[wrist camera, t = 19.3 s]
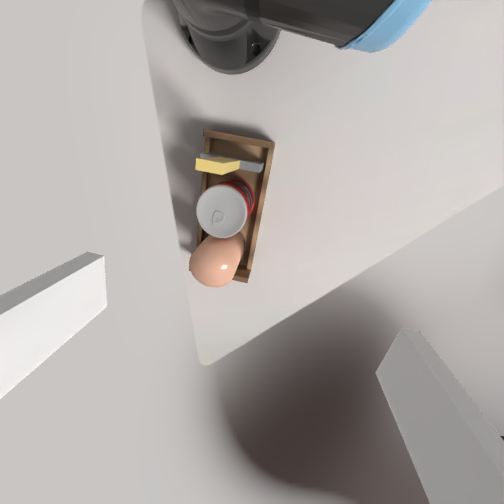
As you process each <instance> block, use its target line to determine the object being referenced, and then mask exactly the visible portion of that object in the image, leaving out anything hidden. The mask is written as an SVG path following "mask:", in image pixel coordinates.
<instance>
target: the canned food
mask: <svg viewBox="0 0 504 504" xmlns="http://www.w3.org/2000/svg"><path fill="white" fill-rule="evenodd" d="M254 203H255V196H254V192H253V190H252V188H251V187H250V185H249V184H248V183H246V182H245V181H243V180H241V179H237V178H231V179H227V180H225V181H222V182H220V183H218V184H216V185H213V186H212V187H210V188H208V189H207V190H205V191H204V192H203V193H202V195H201V196H200V197H199V199H198V202H197V206H196V216H197V219H198V222H199V224H200V226H201V227H202V228H203V230H204V231H206V232H207V233H208V234H210V235H211V236H214V237H218V238H227V237H231V236H233V235H235V234H236V233H238V232H239V231H240V230H241V229H242V227H243V226H244V224H245V223H246V221H247V219H248V217H249V215H250V214H251V212H252V210H253V207H254Z"/></svg>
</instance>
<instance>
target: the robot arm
mask: <svg viewBox="0 0 504 504" xmlns="http://www.w3.org/2000/svg"><path fill="white" fill-rule="evenodd" d="M171 1H172V2H173V4H174V5H175V6H176V8H177V13H178V18H179V22H180V26H181V29H182V31H183V34H184V36H185V38H186V40H187V42H188V44H189V46H190V47H191V49H192V50H193V51H194V53H195V54H196V55H197V56H198V57H199V58H200V59H201V60H202V61H203V62H204V63H205V64H206V65H207V66H208V67H210V68H212V69H213V70H215V71H217V72H220V73H224V74H241V73H244V72H247V71H249V70H251V69H253V68H255V67H256V66H258V65H259V64H260V63H261V62H262V61H263V60H264V59H265V58H266V57H267V56H268V55H269V53H270V52H271V50H272V49H273V47H274V45H275V43H276V41H277V39H278V36H279V34H280V31H281V30H284V31H287V32H291V33H295V34H298V35H302V36H305V37H309V38H313V39H316V40H320V41H323V42H327V43H330V44H334V45H335V47H336V48H338V49H348V48H350V49H355V50H359V51H364V52H369V53H372V52H376V51H380V50H383V49H385V48H387V47H389V46H390V45H392V44H393V43H394V42H396V41H397V40H398V39H399V38H400V37H401V36H402V35H403V34H404V33H405V32H406V31H407V30H408V29H409V28H410V27H411V26H412V25H413V23H414V22H415V21H416V20H417V19H418V17H419V16H420V15H421V14H422V12H423V11H424V10H425V9H426V7H427V6H428V5H429V3H430V2H431V1H432V0H171ZM106 307H107V296H106V281H105V265H104V256H102V255H98V254H94V253H90V252H86V253H84V254H82V255H80V256H78V257H76V258H74V259H73V260H70V261H68V262H66V263H64V264H63V265H60V266H58V267H56V268H54V269H52V270H50V271H48V272H46V273H45V274H43V275H40V276H38V277H37V278H35V279H32V280H31V281H29V282H26V283H24V284H23V285H21V286H19V287H17V288H15V289H13V290H11V291H9V292H7V293H5V294H3V295H1V296H0V399H1V398H2V397H3V396H4V395H5V394H6V393H8V392H9V391H10V390H11V389H12V388H13V387H15V386H16V385H17V384H18V383H19V382H20V381H22V380H23V379H24V378H25V377H26V376H27V375H28V374H30V373H31V372H32V371H33V370H34V369H35V368H37V367H38V366H39V365H40V364H41V363H42V362H43V361H45V360H46V359H47V358H48V357H49V356H50V355H51V354H53V353H54V352H55V351H56V350H57V349H58V348H60V347H61V346H62V345H63V344H64V343H65V342H67V341H68V340H69V339H70V338H71V337H72V336H73V335H75V334H76V333H77V332H78V331H79V330H80V329H81V328H83V327H84V326H85V325H86V324H87V323H89V322H90V321H91V320H92V319H93V318H94V317H95V316H97V315H98V314H99V313H100V312H101V311H102V310H103V309H104V308H106ZM376 375H377V377H378V380H379V382H380V384H381V387H382V389H383V392H384V394H385V396H386V399H387V401H388V404H389V406H390V409H391V411H392V413H393V416H394V418H395V421H396V423H397V425H398V428H399V430H400V433H401V435H402V437H403V439H404V442H405V445H406V447H407V449H408V452H409V454H410V457H411V459H412V461H413V464H414V466H415V469H416V471H417V473H418V476H419V478H420V481H421V483H422V485H423V488H424V490H425V493H426V495H427V497H428V500H429V502H430V504H504V436H500V435H499V434H498V432H497V431H496V430H495V429H494V427H493V426H492V425H491V423H490V422H489V421H488V419H487V418H486V417H485V416H484V414H483V413H482V412H481V411H480V409H479V408H478V406H477V405H476V404H475V403H474V401H473V400H472V398H471V397H470V396H469V395H468V393H467V392H466V391H465V389H464V388H463V387H462V385H461V384H460V383H459V381H458V380H457V379H456V378H455V376H454V375H453V374H452V372H451V371H450V370H449V368H448V367H447V366H446V365H445V363H444V362H443V361H442V359H441V358H440V357H439V355H438V354H437V353H436V351H435V350H434V349H433V347H432V346H431V345H430V344H429V342H428V341H427V340H426V338H425V337H424V336H423V334H422V333H421V332H420V331H417V330H412V329H408V328H404V327H402V328H401V329H400V331H399V333H398V335H397V336H396V338H395V340H394V341H393V344H392V345H391V347H390V348H389V350H388V352H387V354H386V355H385V357H384V359H383V361H382V362H381V364H380V366H379V367H378V369H377V371H376Z"/></svg>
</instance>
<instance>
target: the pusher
mask: <svg viewBox="0 0 504 504" xmlns="http://www.w3.org/2000/svg"><path fill="white" fill-rule="evenodd" d="M263 167H264V162H259V161H254V160H248V159H243V158H238V157H233V156H227V155H222V154H217V153H200V158H196V168H195V170H199V171H204V172H209V173H215V174H220V175H223V174H226V173H229V172H232V171H234V170H237V169H242V170H247V171H253V172H258V173H260V172H261V171H262V170H263Z"/></svg>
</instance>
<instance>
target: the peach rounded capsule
mask: <svg viewBox="0 0 504 504" xmlns="http://www.w3.org/2000/svg"><path fill="white" fill-rule="evenodd" d="M244 250H245V238H244V236H243V234H242V233H241V232H240V231H239V232H238V233H236V234H235V235H233V236H231V237H227V238H218V237H214V236H211V235H210V234H209V235H208V236H207V238H206V239H205V240H204V241H203V242H202V243H201V244H200V245H199V246H198V248H197V249H196V250H195V251H194V252H193V253H192V255H191V257H190V261H189V266H190V270H191V273H192V274H193V276H194V277H195V278H196V280H198V281H199V282H200V283H202V284H203V285H206V286H209V287H221V286H224V285H226V284H228V283H229V282H230V281H231V280H232V278H233V277H234V274H235V272H236V269H237V267H238V264H239V262H240V259H241V257H242V255H243V252H244Z"/></svg>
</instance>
